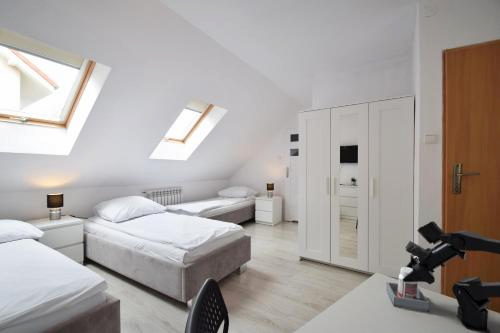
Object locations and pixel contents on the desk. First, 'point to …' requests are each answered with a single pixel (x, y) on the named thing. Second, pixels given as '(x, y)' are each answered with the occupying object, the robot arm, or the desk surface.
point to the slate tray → (407, 299)
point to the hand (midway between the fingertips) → (402, 276)
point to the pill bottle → (406, 285)
